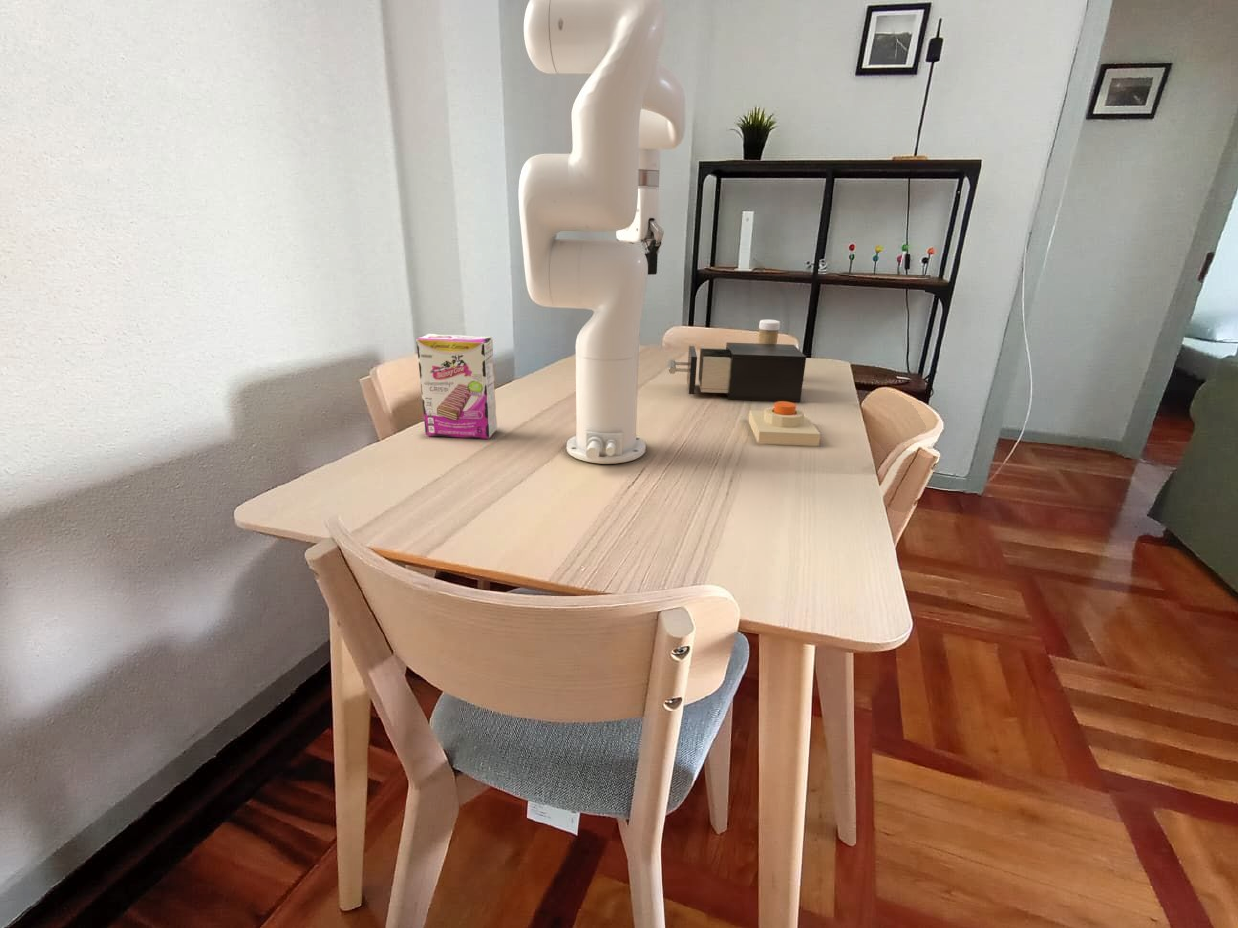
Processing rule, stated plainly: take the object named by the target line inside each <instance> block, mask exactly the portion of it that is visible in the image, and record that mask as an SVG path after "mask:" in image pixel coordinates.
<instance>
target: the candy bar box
mask: <svg viewBox="0 0 1238 928" xmlns="http://www.w3.org/2000/svg"><path fill="white" fill-rule="evenodd" d="M415 340H416V349H417V350H416V351H417V360H418V370H419V380H420V390H421V391H420V393H421V400H422V412H423V420H424V421H423V422H424V431H425V436H430V437H446V438H447V437H449V438H465V439H466V438H468V439H482V440H483V439H484V440H489V439H490V438H492V436H493V435H494V434H495V433H496V432H497V430H498V424H497V422H498V421H497V406H496V387H495V369H494V368H495V367H494V348H493V347H494V346H493V337H492V336H485V335H484V336H482V335H479V336H478V335H463V334H462V335H461V334H443V333H442V334H441V333H425V334H424V335H422V336H418V338H416V339H415Z"/></svg>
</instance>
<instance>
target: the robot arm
mask: <svg viewBox="0 0 1238 928" xmlns="http://www.w3.org/2000/svg"><path fill="white" fill-rule="evenodd" d="M663 3H664V2H662V1H661V0H529V1H528V3H527V6H526V9H525V12H524V19H523V39H524V45H525V49H526V53H527V55H528V58H529V60H530V62H531V63H532V65H533V66H534V67H535V68H536V69H537V71H539V72H541V73H544V74H547V75H549V74H550V75H590V76H589V77H588V78H587V80H586V81H585V83H584V85H583V86H582V87H581V89H580V91H579V93H578V95H577V96H576V98H575V100H574V102H573V105H572V109H571V117H570V118H571V135H572V136H571V137H572V139H571V141H572V150H571V152H570V153H539V154H536V155H532V156H531V157H529V158H528V159H527V160H526V161H525V162H524V164H523V166H522V168H521V172H520V175H519V178H518V179H519V180H518V191H517V192H518V195H517V196H518V212H519V223H520V233H521V244H522V254H523V267H524V275H525V284H526V288H527V292H528V295H529V298H531V300H532V302H534V303H535V304H536V305H539V306H541V307H546V308H557V309H559V308H560V309H582V310H590V311H592V312H593V314H592V316H591V317H590V318H589V319H588V321H586V323H585V324H584V325H583V326H582V327H581V328H580V330H579V332H578V334H577V336H576V340H575V413H576V414H575V418H576V419H575V423H576V425H575V426H576V427H575V429H576V431H575V432H576V434H575V435H574V436H572V437H570V438H569V439H568V440H567V442H566V452H567V453H568V454H569V456H571V457H573V458H574V459H577V460H579V461H583V462H586V463H592V464H602V465H612V464H615V465H616V464H623V463H627V462H632V461H635V460H637V459H639V458H641V457H642V456H644V454H645V453H646V446H647V445H646V442H645V441H644V440H643V439H642V438H640V437H639V436H637V425H638V423H637V422H638V420H637V419H638V393H639V390H638V389H639V361H640V360H639V359H640V338H641V337H640V333H641V321H642V312H643V305H644V299H645V293H646V289H647V283H648V275H651V276H653V275H657V274H658V259H659V257H658V256H659V254H660V248H661V246H662V240H663V237H664V233H665V232H664V231H665V230H664V229H663V228H662V227H661V226H660V199H659V198H660V197H659V196H660V195H659V190H660V170H661V169H660V167H661V165H660V164H661V150H672V149H675V148H677V147H679V146H680V144H681V143H682V142H683V140H684V137H685V136H684V135H685V132H686V99H685V92H684V89H683V86H682V84H681V82H680V81H679V79H678V78H677V77H676V76H675V75H674V74H673V73H672V71H670V70H669V69H668V68H667V67H666V66H665V65H663V64H662V63H661V62H659V58H660V55H661V52H662V47H663V43H664V39H665V34H666V33H665V32H666V25H667V24H666V22H667V21H666V9H665V5H664V4H663ZM560 232H591V233H592V232H594V233H595V232H599V233H600V232H601V233H605V232H616V233H615V234H616V236H615V237H616V239H593V238H592V239H591V238H585V239H578V238H577V239H576V238H575V239H574V238H573V239H571V238H558V237H557V234H558V233H560ZM638 243H641V246H642V248H641V247H639V246H638V245H636V244H638Z"/></svg>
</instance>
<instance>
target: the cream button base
mask: <svg viewBox="0 0 1238 928" xmlns="http://www.w3.org/2000/svg"><path fill="white" fill-rule="evenodd" d="M748 413H749V414H748V423H749V426H750V428H751V430H752V434H753V435H754V438H755V440H756V442H757V444H759V445H780V446H781V445H782V446H783V445H784V446H809V447H811V446H812V447H819V445H820V441H821V440H820V439H821V433H820V431H819V430H818V428H817V427H816V426H815V424H814V423H813V422H812V420H811V419H810V417H809V416H808V415H807V414H806V412H805V411H804V412H803V410H802V409H798V408H796V410H795V415H780V414H776V413H774V406H767V407H766V408H765V409H764V410H749V412H748Z"/></svg>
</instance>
